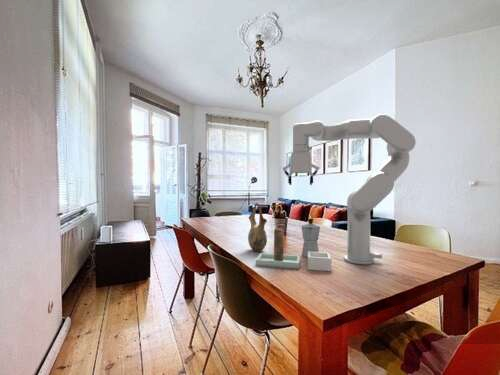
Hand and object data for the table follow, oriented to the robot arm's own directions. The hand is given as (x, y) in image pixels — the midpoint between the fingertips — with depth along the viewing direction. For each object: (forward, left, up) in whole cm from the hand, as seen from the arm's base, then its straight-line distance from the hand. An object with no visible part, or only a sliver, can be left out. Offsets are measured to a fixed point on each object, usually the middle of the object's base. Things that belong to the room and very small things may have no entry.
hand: (300, 184), depth 120 cm
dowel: (+9, +14, -34) cm, 38 cm away
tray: (+9, +14, -34) cm, 38 cm away
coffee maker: (-5, -2, -34) cm, 35 cm away
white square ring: (-8, +15, -34) cm, 38 cm away
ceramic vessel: (+22, -4, -34) cm, 41 cm away
